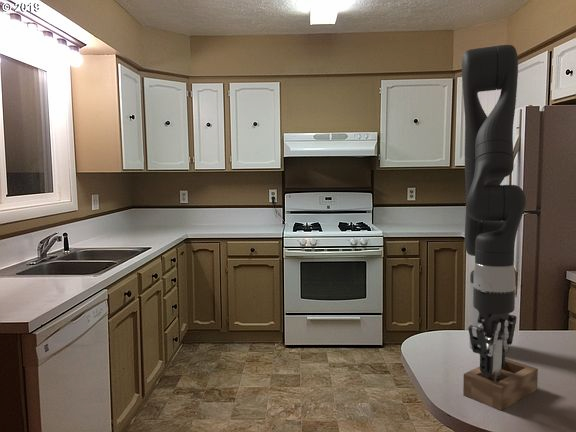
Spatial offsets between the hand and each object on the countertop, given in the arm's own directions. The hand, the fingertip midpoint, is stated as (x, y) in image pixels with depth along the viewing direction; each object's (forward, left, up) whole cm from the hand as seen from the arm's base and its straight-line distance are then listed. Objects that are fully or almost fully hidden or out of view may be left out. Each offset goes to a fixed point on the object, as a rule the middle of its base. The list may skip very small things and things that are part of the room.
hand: (492, 369), depth 92 cm
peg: (0, 0, -6) cm, 6 cm away
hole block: (-3, 0, -6) cm, 7 cm away
